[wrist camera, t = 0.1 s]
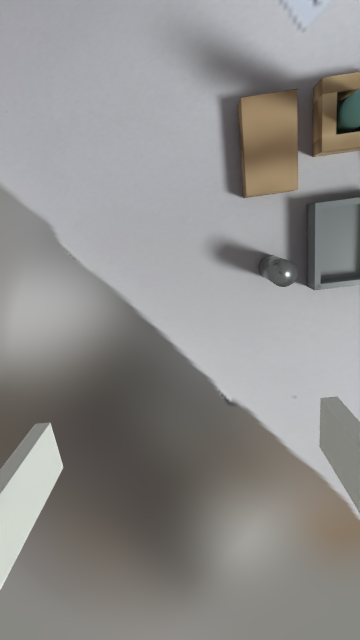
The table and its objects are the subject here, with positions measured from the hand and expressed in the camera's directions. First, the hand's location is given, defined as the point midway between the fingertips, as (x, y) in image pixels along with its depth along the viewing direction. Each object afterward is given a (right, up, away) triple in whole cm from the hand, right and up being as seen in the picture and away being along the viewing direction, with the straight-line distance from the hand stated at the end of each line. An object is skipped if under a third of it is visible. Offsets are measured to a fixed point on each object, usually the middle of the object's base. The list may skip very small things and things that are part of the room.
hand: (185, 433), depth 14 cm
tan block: (+10, +26, +21) cm, 35 cm away
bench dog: (+12, +13, +25) cm, 30 cm away
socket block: (+19, +29, +20) cm, 40 cm away
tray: (+20, +16, +24) cm, 35 cm away
